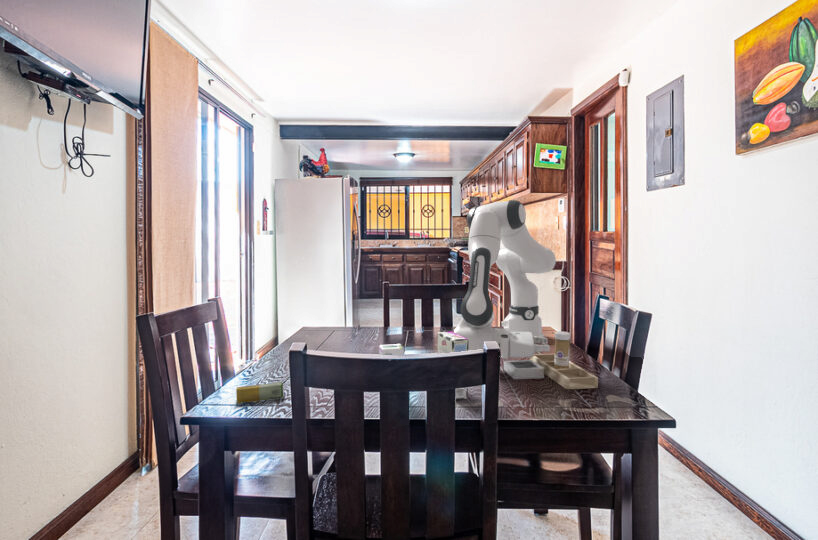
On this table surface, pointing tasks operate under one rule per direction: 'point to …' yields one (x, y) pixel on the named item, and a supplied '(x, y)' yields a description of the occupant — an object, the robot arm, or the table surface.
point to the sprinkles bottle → (562, 350)
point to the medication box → (259, 392)
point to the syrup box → (391, 349)
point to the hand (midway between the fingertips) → (548, 344)
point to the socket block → (523, 369)
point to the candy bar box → (453, 344)
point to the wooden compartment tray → (566, 373)
